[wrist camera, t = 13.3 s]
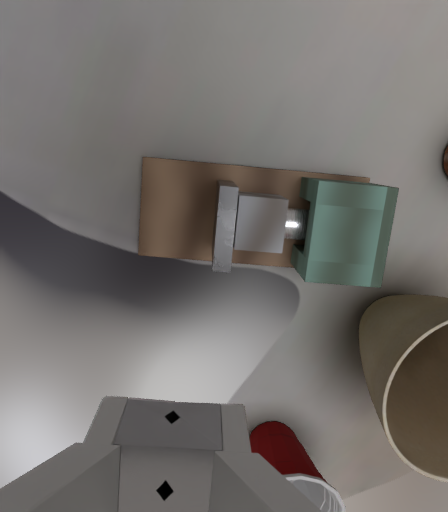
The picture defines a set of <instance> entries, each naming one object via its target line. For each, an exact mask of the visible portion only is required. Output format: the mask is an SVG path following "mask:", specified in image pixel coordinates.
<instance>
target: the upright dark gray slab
mask: <svg viewBox="0 0 448 512" xmlns="http://www.w3.org/2000/svg"><path fill="white" fill-rule="evenodd" d="M238 191H239V187H238V186H237V185H236V184H235V183H234V182H233V181H228V180H217V191H216V203H215V214H214V226H213V237H212V270H213V271H218V272H231V262H232V252H233V242H234V234H235V231H236V221H237V210H238V204H237V201H238ZM308 217H309V210H306V209H294V208H288V210H287V218H286V226H285V234H284V239H295V240H305V239H306V231H307V224H308Z"/></svg>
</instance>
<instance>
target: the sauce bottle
mask: <svg viewBox="0 0 448 512" xmlns="http://www.w3.org/2000/svg"><path fill="white" fill-rule="evenodd" d="M444 170H445V172H446V175H447V176H448V146H447V148H446V151H445V155H444Z"/></svg>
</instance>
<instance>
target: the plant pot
mask: <svg viewBox="0 0 448 512" xmlns="http://www.w3.org/2000/svg"><path fill="white" fill-rule="evenodd" d="M359 347H360V355H361V362H362V367H363V371H364V375H365V379H366V383H367V387H368V390H369V393H370V396H371V399H372V402H373V404H374V407H375V409H376V412H377V414H378V417H379V419H380V422H381V424H382V427H383V429H384V431H385V434H386V436H387V438H388V440H389V442H390V444H391V446H392V448H393V450H394V451H395V452H396V454H397V455H398V456H399V457H400V459H401V460H402V461H403V462H404V463H406V464H407V465H408V466H409V467H410V468H412V469H413V470H415V471H416V472H418V473H420V474H422V475H424V476H427V477H429V478H432V479H435V480H438V481H443V482H448V298H445V297H438V296H428V295H393V296H387V297H383V298H381V299H378V300H377V301H375V302H373V303H372V304H371V305H370V306H369V307H368V308H367V309H366V310H365V312H364V313H363V315H362V318H361V320H360V324H359Z"/></svg>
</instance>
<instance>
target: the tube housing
mask: <svg viewBox="0 0 448 512" xmlns="http://www.w3.org/2000/svg"><path fill="white" fill-rule="evenodd" d="M217 180H228V181H233V182H234V183H235V184H236V185H237V186H238V187H239V191H238V201H237V204H238V210H237V221H236V231H235V234H234V242H233V252H232V262H231V263H242V264H254V265H267V266H279V267H292V268H295V269H296V271H297V272H298V273H299V274H300V276H301V277H302V278H303V280H304V281H305V282H314V283H327V284H340V285H353V286H365V287H378V288H381V284H382V279H383V273H384V268H385V262H386V257H387V251H388V246H389V240H390V235H391V229H392V224H393V218H394V213H395V207H396V202H397V196H398V191H399V188H395V187H389V186H384V185H378V184H372V183H369V182H370V178H366V177H356V176H345V175H335V174H324V173H313V172H302V171H291V170H281V169H270V168H259V167H248V166H237V165H227V164H216V163H205V162H194V161H183V160H173V159H162V158H151V157H143V165H142V186H141V207H140V228H139V250H138V255H141V256H154V257H166V258H179V259H192V260H204V261H212V237H213V226H214V214H215V203H216V191H217ZM288 208H294V209H306V210H309V217H308V224H307V231H306V239H305V240H295V239H284V234H285V226H286V218H287V210H288Z"/></svg>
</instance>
